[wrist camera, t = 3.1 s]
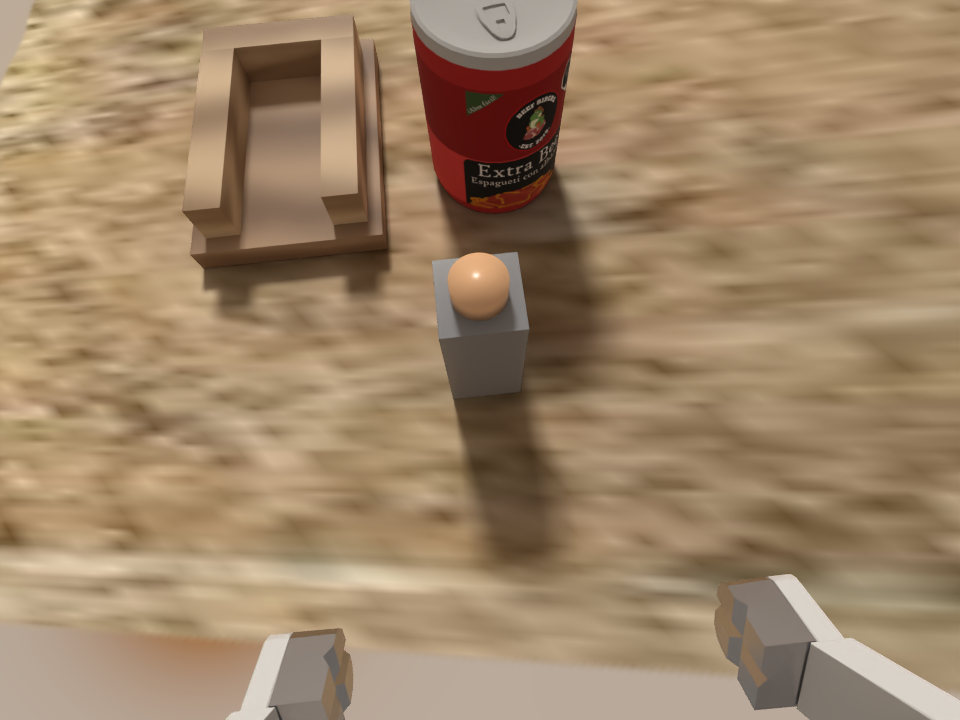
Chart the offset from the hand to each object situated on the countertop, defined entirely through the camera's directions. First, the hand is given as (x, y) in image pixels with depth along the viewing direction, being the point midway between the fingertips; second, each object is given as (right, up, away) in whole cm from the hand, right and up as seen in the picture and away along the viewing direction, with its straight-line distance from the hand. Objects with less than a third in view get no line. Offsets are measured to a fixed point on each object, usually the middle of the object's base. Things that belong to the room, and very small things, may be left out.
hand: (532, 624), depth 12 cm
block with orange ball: (-1, +5, +18) cm, 19 cm away
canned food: (0, +18, +23) cm, 29 cm away
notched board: (-13, +19, +23) cm, 33 cm away
